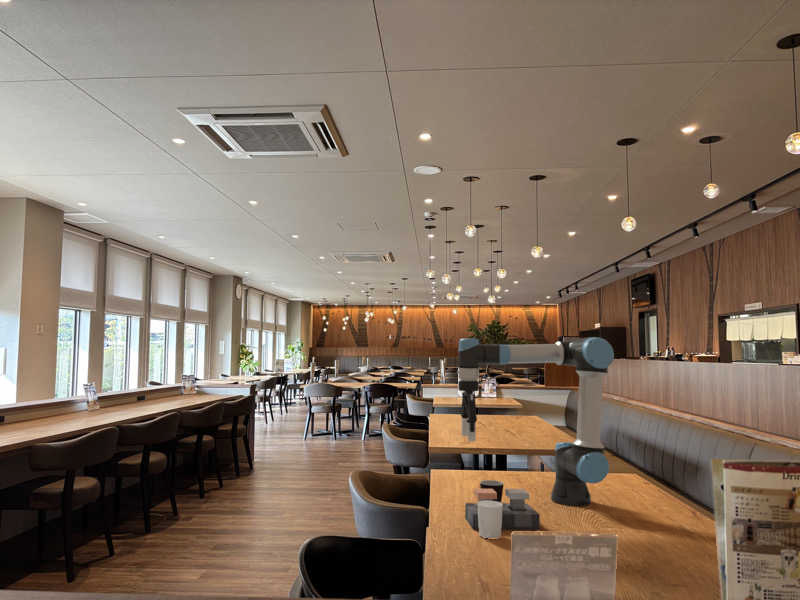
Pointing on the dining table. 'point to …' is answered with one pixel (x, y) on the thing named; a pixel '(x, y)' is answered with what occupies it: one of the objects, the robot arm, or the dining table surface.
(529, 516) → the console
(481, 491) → the salmon orange cube
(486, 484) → the coffee mug
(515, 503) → the light grey cube
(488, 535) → the white cup
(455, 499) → the dining table surface
